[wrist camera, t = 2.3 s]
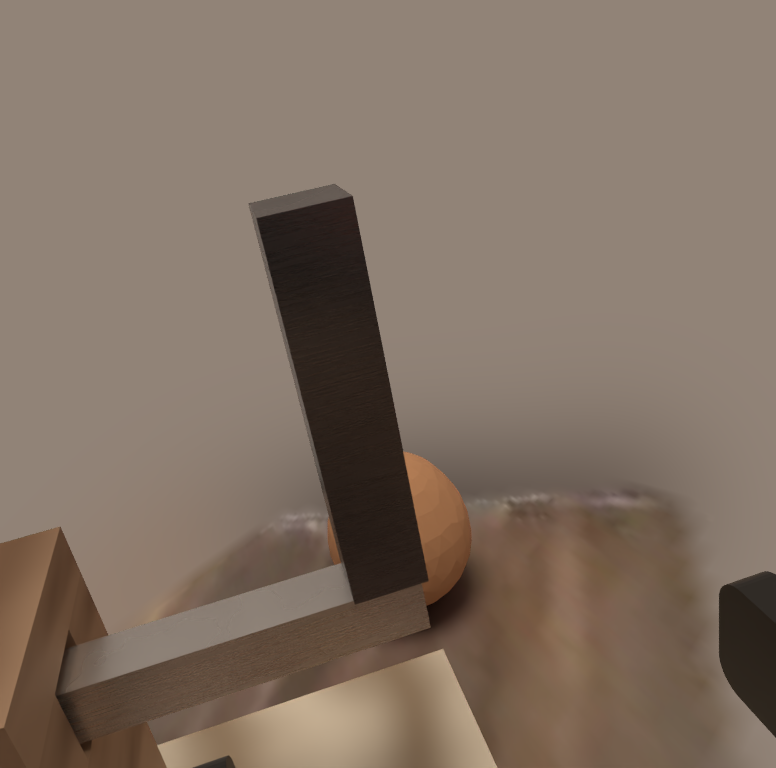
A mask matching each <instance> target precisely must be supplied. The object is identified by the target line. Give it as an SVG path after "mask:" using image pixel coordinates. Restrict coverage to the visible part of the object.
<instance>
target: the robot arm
mask: <svg viewBox="0 0 776 768" xmlns="http://www.w3.org/2000/svg"><path fill="white" fill-rule="evenodd" d="M719 657H720V663H721V666H722V669H723V672H724V674H725V676H726V678H727V680H728V682H729V684H730V685H731V687H732V689H733V690H734V691H735V693H736V694H737V695H738V696H739V698H740V699H741V700H742V701H743V702H744V703H745V704H746V705H747V706H748V707H749V709H750V710H751V711H752V712H753V713H754V714H755V715H756V716H757V717H758V719H759V720H760V721H761V722H762V723H763V724H764V725H765V726H766V727H767V728H768V730H769V731H770V732H771V733H772V734H773V735H774V736H775V737H776V575H775V574H773V573H771V572H766V571H765V572H762V573H759V574H756V575H753V576H750V577H747V578H744V579H741V580H739V581H735V582H733V583H730V584H727V585H724V586H723V587H722V588H721V589H720V593H719ZM193 768H235V765H234V763H233V760H232V758H231V757H230V756H229V755H227V756H225V757H222V758H219V759H216V760H213V761H210V762H207V763H204V764H201V765H199V766H196V767H193Z"/></svg>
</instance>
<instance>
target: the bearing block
mask: <svg viewBox="0 0 776 768" xmlns="http://www.w3.org/2000/svg"><path fill="white" fill-rule="evenodd" d="M105 636H108V633H107V631H106V629H105V627H104V624H103V622H102V620H101V618H100V615H99V613H98V611H97V608H96V606H95V604H94V602H93V600H92V597H91V595H90V593H89V590H88V588H87V586H86V584H85V581H84V579H83V577H82V575H81V572H80V570H79V568H78V566H77V563H76V561H75V559H74V556H73V554H72V552H71V550H70V547H69V545H68V543H67V541H66V538H65V536H64V534H63V532H62V530H61V527H57V528H54V529H50V530H46V531H43V532H39V533H36V534H32V535H29V536H25V537H22V538H18V539H15V540H11V541H8V542H4V543H1V544H0V768H193V767H196V766H199V765H201V764H204V763H207V762H210V761H213V760H216V759H219V758H222V757H225V756H227V755H229V756H230V757H231V758H232V760H233V763H234V765H235V768H497V766H496V764H495V762H494V760H493V757H492V755H491V753H490V751H489V749H488V746H487V744H486V742H485V740H484V738H483V736H482V733H481V731H480V729H479V727H478V725H477V722H476V720H475V718H474V716H473V714H472V712H471V709H470V707H469V705H468V703H467V701H466V698H465V696H464V694H463V692H462V690H461V687H460V685H459V683H458V681H457V679H456V677H455V674H454V672H453V670H452V668H451V666H450V663H449V661H448V659H447V657H446V655H445V653H444V650H443V649H441V650H438V651H435V652H433V653H430V654H427V655H424V656H421V657H418V658H415V659H412V660H409V661H406V662H403V663H400V664H397V665H394V666H391V667H388V668H385V669H382V670H379V671H376V672H373V673H370V674H367V675H364V676H361V677H358V678H355V679H352V680H350V681H347V682H344V683H341V684H338V685H335V686H332V687H329V688H326V689H323V690H320V691H317V692H314V693H311V694H308V695H305V696H302V697H299V698H296V699H293V700H290V701H287V702H284V703H281V704H278V705H275V706H272V707H270V708H267V709H264V710H261V711H258V712H255V713H252V714H249V715H246V716H243V717H240V718H237V719H234V720H231V721H228V722H225V723H222V724H219V725H216V726H213V727H210V728H207V729H204V730H201V731H198V732H195V733H192V734H189V735H187V736H184V737H181V738H178V739H175V740H172V741H169V742H166V743H163V744H160V745H157V744H156V742H155V740H154V737H153V735H152V733H151V731H150V728H149V726H148V724H147V722H145V723H142V724H139V725H136V726H133V727H130V728H127V729H124V730H121V731H118V732H115V733H112V734H109V735H106V736H103V737H100V738H97V739H94V740H91V741H88V742H85V743H81V744H80V743H79V741H78V739H77V737H76V735H75V733H74V731H73V729H72V727H71V725H70V723H69V721H68V720H67V718H66V716H65V714H64V712H63V710H62V708H61V706H60V704H59V702H58V700H57V698H56V696H55V691H56V687H57V682H58V677H59V672H60V668H61V663H62V658H63V654H64V649H66V648H70V647H73V646H76V645H79V644H83V643H86V642H89V641H92V640H95V639H99V638H102V637H105Z"/></svg>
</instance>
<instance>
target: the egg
mask: <svg viewBox="0 0 776 768" xmlns="http://www.w3.org/2000/svg"><path fill="white" fill-rule="evenodd" d="M403 453H404V458H405V463H406V468H407V473H408V478H409V483H410V488H411V493H412V499H413V504H414V509H415V514H416V519H417V524H418V529H419V534H420V539H421V544H422V549H423V554H424V559H425V564H426V569H427V574H428V579H429V581H428V582H425V583H422V587H423V592H424V597H425V602H426V606H427V605H430V604H432V603H434V602H436V601H437V600H438V599H440V598H441V597H442V596H444V595H445V594H446V593H448V592H449V591H450V590H451V589H452V587H453V586H454V585H455V584H456V582H457V581H458V580H459V579H460V577H461V576H462V573H463V571H464V568H465V566H466V563H467V561H468V558H469V555H470V548H471V527H470V522H469V517H468V513H467V509H466V507H465V505H464V502H463V500H462V498H461V495H460V493H459V492H458V490H457V489H456V487H455V486H454V485H453V483H452V482H451V481H450V480H449V479H448V478H447V477H446V476H445V475H444V473H442V472H441V471H440V470H439V469H438V468H437V467H435V466H434V465H432V464H431V463H430V462H429V461H427V460H426V459H424V458H422V457H420V456H417V455H414V454H411V453H408V452H403ZM328 544H329V549H330V555H331V558H332V560H333V563H334V565H337V564H340V563H341V561H340V558H339V554H338V550H337V546H336V542H335V538H334V534H333V530H332V527H331V523H330V519H328Z"/></svg>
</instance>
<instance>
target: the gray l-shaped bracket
mask: <svg viewBox="0 0 776 768" xmlns="http://www.w3.org/2000/svg"><path fill="white" fill-rule="evenodd" d="M249 208H250V211H251V215H252V219H253V223H254V227H255V231H256V235H257V239H258V243H259V246H260V250H261V254H262V258H263V262H264V265H265V270H266V274H267V278H268V281H269V285H270V289H271V293H272V297H273V301H274V305H275V309H276V313H277V316H278V320H279V324H280V328H281V332H282V336H283V340H284V344H285V347H286V351H287V355H288V359H289V362H290V367H291V371H292V375H293V378H294V383H295V386H296V390H297V394H298V398H299V402H300V406H301V410H302V414H303V417H304V422H305V425H306V429H307V433H308V437H309V441H310V444H311V449H312V452H313V456H314V460H315V464H316V468H317V472H318V476H319V480H320V483H321V488H322V492H323V495H324V499H325V503H326V507H327V511H328V515H329V519H330V523H331V527H332V530H333V534H334V538H335V542H336V546H337V550H338V554H339V558H340V561H341V563H340V564H337V565H333V566H330V567H327V568H324V569H320V570H317V571H314V572H311V573H308V574H304V575H301V576H298V577H295V578H292V579H288V580H285V581H282V582H279V583H275V584H272V585H269V586H266V587H263V588H259V589H256V590H253V591H250V592H247V593H243V594H240V595H237V596H234V597H230V598H227V599H224V600H221V601H218V602H214V603H211V604H208V605H205V606H201V607H198V608H195V609H192V610H189V611H185V612H182V613H179V614H176V615H173V616H169V617H166V618H163V619H160V620H156V621H153V622H150V623H147V624H144V625H140V626H137V627H134V628H131V629H128V630H124V631H121V632H118V633H115V634H111V635H108V636H105V637H102V638H99V639H95V640H92V641H89V642H86V643H83V644H79V645H76V646H73V647H70V648H66V649H64V654H63V658H62V663H61V668H60V672H59V677H58V682H57V687H56V691H55V696H56V698H57V700H58V702H59V704H60V706H61V708H62V710H63V712H64V714H65V716H66V718H67V720H68V721H69V723H70V725H71V727H72V729H73V731H74V733H75V735H76V737H77V739H78V741H79V743H80V744H81V743H85V742H88V741H91V740H94V739H97V738H100V737H103V736H106V735H109V734H112V733H115V732H118V731H121V730H124V729H127V728H130V727H133V726H136V725H139V724H142V723H145V722H148V721H151V720H154V719H157V718H160V717H163V716H166V715H169V714H172V713H175V712H178V711H181V710H184V709H187V708H190V707H193V706H196V705H199V704H202V703H205V702H208V701H211V700H214V699H217V698H220V697H223V696H226V695H229V694H232V693H235V692H238V691H241V690H244V689H247V688H250V687H253V686H256V685H259V684H262V683H265V682H268V681H271V680H274V679H277V678H280V677H283V676H286V675H290V674H293V673H296V672H299V671H302V670H305V669H308V668H311V667H314V666H317V665H320V664H323V663H326V662H329V661H332V660H335V659H338V658H341V657H344V656H347V655H350V654H353V653H356V652H359V651H362V650H365V649H368V648H371V647H374V646H377V645H380V644H383V643H386V642H389V641H392V640H395V639H398V638H401V637H404V636H407V635H410V634H413V633H416V632H419V631H422V630H425V629H428V628H431V626H430V621H429V616H428V612H427V607H426V602H425V597H424V592H423V587H422V583H425V582H428V581H429V579H428V574H427V569H426V564H425V559H424V554H423V549H422V544H421V539H420V534H419V529H418V524H417V519H416V514H415V509H414V504H413V499H412V493H411V488H410V483H409V478H408V473H407V468H406V463H405V458H404V453H403V448H402V443H401V438H400V433H399V428H398V423H397V418H396V413H395V408H394V403H393V398H392V392H391V388H390V382H389V378H388V372H387V368H386V362H385V357H384V352H383V347H382V342H381V337H380V332H379V327H378V322H377V317H376V312H375V307H374V301H373V296H372V292H371V287H370V281H369V276H368V271H367V266H366V261H365V256H364V251H363V246H362V241H361V236H360V231H359V226H358V221H357V216H356V211H355V206H354V200H353V196H352V195H351V194H349V193H347V192H346V191H345V190H343V189H341V188H340V187H338V186H337V185H336V184H332V185H328V186H323V187H319V188H315V189H310V190H306V191H301V192H297V193H293V194H288V195H284V196H279V197H275V198H271V199H266V200H262V201H257V202H253V203H249Z"/></svg>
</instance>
